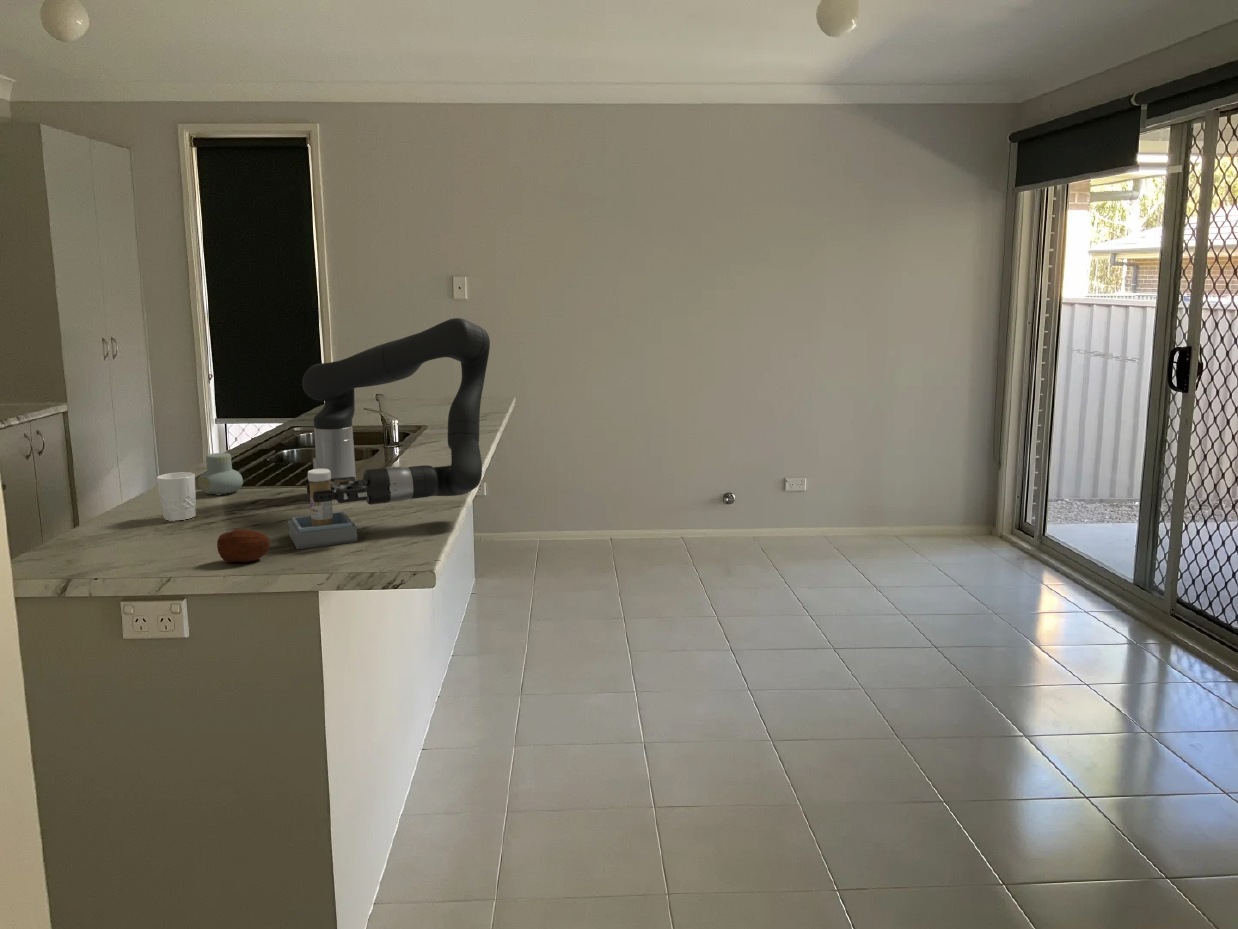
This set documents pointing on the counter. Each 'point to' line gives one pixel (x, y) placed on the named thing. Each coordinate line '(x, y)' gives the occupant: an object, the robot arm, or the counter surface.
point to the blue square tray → (322, 531)
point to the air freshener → (220, 475)
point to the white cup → (177, 495)
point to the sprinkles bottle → (320, 510)
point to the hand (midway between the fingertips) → (310, 493)
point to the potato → (242, 545)
